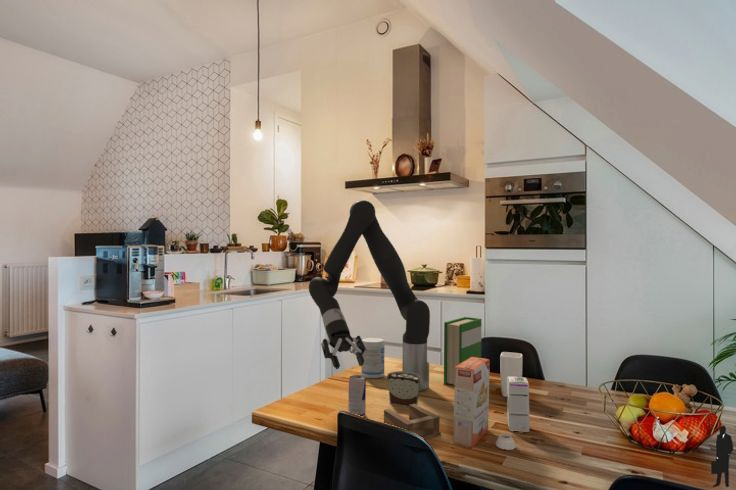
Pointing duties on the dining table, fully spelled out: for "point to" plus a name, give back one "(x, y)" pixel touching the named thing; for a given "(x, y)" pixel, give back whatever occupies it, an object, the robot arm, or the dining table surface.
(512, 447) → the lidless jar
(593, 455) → the dining table surface
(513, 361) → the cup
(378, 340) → the supplement tub
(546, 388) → the dining table surface
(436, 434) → the walnut cradle
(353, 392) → the energy drink
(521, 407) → the syrup box
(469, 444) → the cracker box
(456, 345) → the hardback book
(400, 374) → the food container
